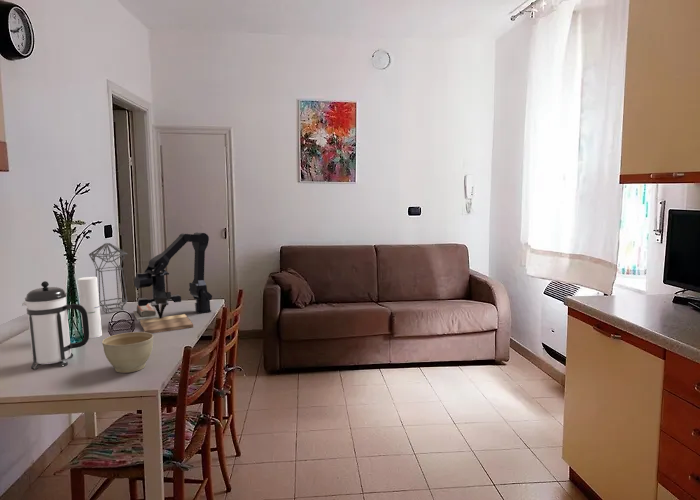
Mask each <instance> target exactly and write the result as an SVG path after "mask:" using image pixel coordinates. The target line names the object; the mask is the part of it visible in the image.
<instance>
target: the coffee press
mask: <svg viewBox="0 0 700 500" xmlns="http://www.w3.org/2000/svg"><path fill="white" fill-rule="evenodd" d="M40 285H41V287H39V288H35V289H32V290H30V291H28V292H27V294H26V297H24V301H23V302H22V303H21V307H23V306H24V307H25V306H26V314H27V319H28V327H29V337H30V347H31V355H32V364H31V366H30V369H31V370H35V369H36V370H37V369H38V368H39V367H40V366H41V365H51V364H57V363H59V364H60V365H61V366H62V365H64V366H63V367H66V366H68V361H67V360H68V359H73V357H74V354H73V353H72V349H77V348H81V347H84V346H85V345H86V344H87V343H88V341H89V340H90V338H89V324H88V315H87V312H86V310H85V308H84V307H83V306H81V305H80V303H79V304H78V303H72V304H68V303H67V296H68V293H67V292H65V290H64V289H63V288H61V287H57V286H56V287H55V286H49V282H48V281H42V282H41V284H40ZM68 310H77V311H79V313H80V315H81V314H82V317H81V323H82V322H83V328H82V334H83V333H84V338H82V340H81V341H79V342H71V340H70V339H71V338H70V328H69V316H68ZM65 365H66V366H65ZM36 370H35V371H36Z"/></svg>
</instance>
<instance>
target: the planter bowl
mask: <svg viewBox="0 0 700 500" xmlns="http://www.w3.org/2000/svg"><path fill="white" fill-rule="evenodd" d="M101 344H102V346H103V352H104V355H105V357H106V359H107V361H108V362H109V363H110V365H111V366H112V367H113V368H114V372H117V373H125V374H126V373H134V372H138V371H140V370H143V369H144V368H145V367H146V363H147V362H148V360H149V358H150V356H151V354H152V352H153V348H154V347H153V346H154V333H147V332H144V331H132V332H124V333H118V334H114V335H110V336H108V337H106V338H103V340H102V342H101Z"/></svg>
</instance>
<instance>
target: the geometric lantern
mask: <svg viewBox="0 0 700 500" xmlns="http://www.w3.org/2000/svg"><path fill="white" fill-rule="evenodd" d="M110 247H111V248H112V249H113V250H114V251H111V248H110ZM117 253H119V254H117ZM126 255H128V253H127V252H126V251H124V250H123V249H121V248H119V247H117V246H116V245H113V243H110V242H105V243H103V244H102V245H101V246H98V248H96V249H95V250H93V251H92V252H90V253H88V256H89V257H90V259H91V261H92V263H93V265H94V268H95V277H97V278H98V294H99V306H100V307H101V310H102V311H103V312H104V313H106V314H112V313H118V312H117V311H118V310H115V311H110V310H112V309H120V310H123V311H124V306H125V305H127V303H128V298H127V290H126V284H125V278H124V268H123V267H122V262H123V260H124V259H125V258H126V257H125V256H126ZM114 257H116V258H114ZM96 258H98V259H99V260H101V263H100V265H98V264H97V262H96ZM111 258H112V260H111ZM119 258H120V262H119V265H118V264H117V262H116V260H118V259H119ZM103 262H105V263H104V265H103V266H102V264H103ZM108 263H111V264H112V265H113V266H108V267H107V270H105V269H106V267H105V266H106V264H108ZM112 268H115V277H116V278H115V279H116V289H117V292H116V293H117V294H116V295H117V298H110V299H106V297H105V288H104V287H105V286H104V278H103V272H110V271H112V272H113V271H114V269H112ZM121 275H122V277H121ZM118 277H119V279H118ZM118 280H119V281H118ZM118 282H119V283H118ZM122 282H123V283H122ZM101 284H102V294H103V300H101ZM119 284H120V289H121V297H119ZM124 296H125V297H124ZM114 300H117V301H116V302H115V303H108V304H106V302H109V301H114ZM119 300H121V301H120V302H119ZM102 302H103V303H102ZM111 306H115V307H111Z"/></svg>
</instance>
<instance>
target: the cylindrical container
mask: <svg viewBox="0 0 700 500" xmlns="http://www.w3.org/2000/svg"><path fill="white" fill-rule="evenodd" d="M77 282H78V283H77V284H78V292H79V293H78V294H79V302H80V303H79V305H81V306H83V307H84V308H85V310H86V312H87V315H88V324H89V339H95V338H99V337H101V336H103V333H102V329H103V328H102V320H101V308H100V307H101V306H99V281H98V276H97V277H96V276H83V277H80V278H77ZM80 316H81V318H82V314H81V313H80ZM81 326H82V327H83V322H82V321H81Z"/></svg>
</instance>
